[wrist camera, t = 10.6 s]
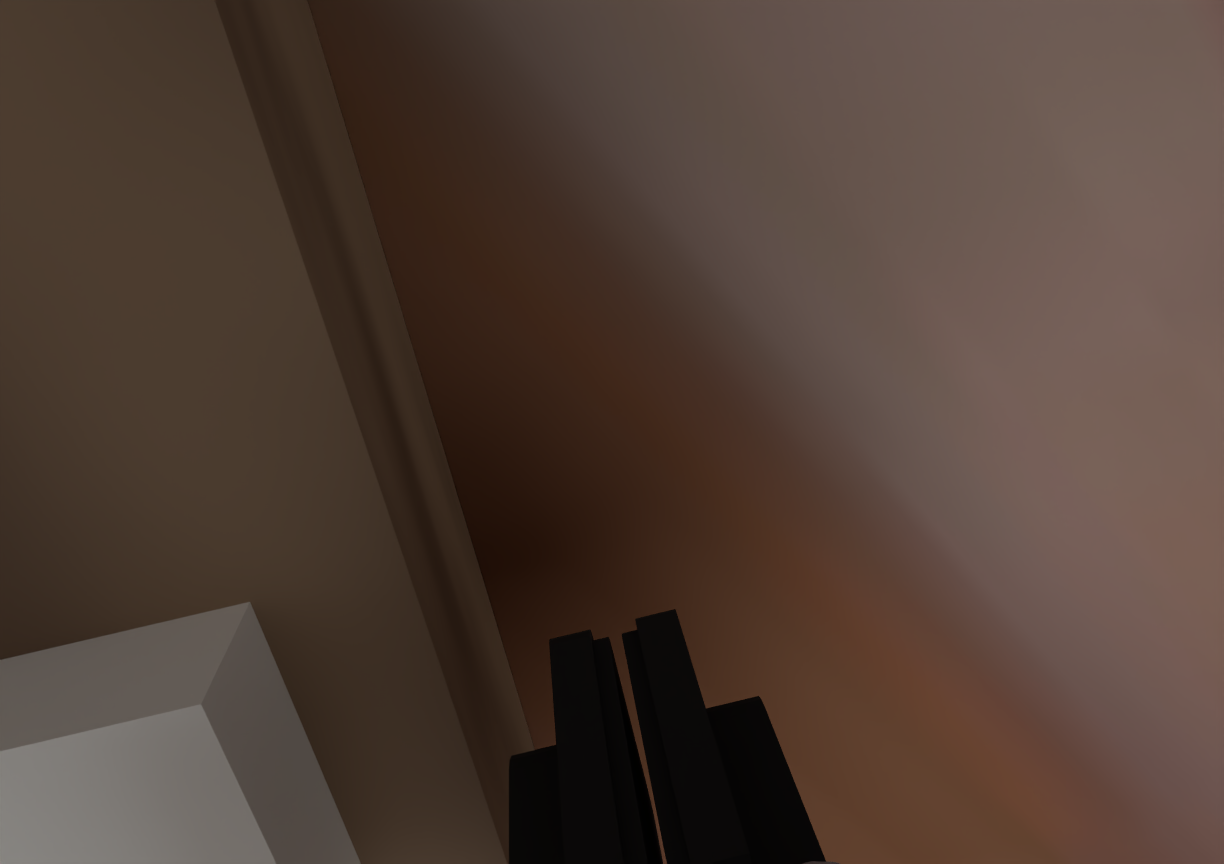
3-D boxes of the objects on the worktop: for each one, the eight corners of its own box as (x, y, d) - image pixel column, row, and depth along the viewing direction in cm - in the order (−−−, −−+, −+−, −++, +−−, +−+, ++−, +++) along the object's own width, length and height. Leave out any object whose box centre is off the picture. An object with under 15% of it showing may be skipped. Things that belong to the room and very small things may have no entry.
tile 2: (249, 602, 12) (200, 704, 10) (370, 886, 14) (348, 1016, 12) (-145, 693, 12) (-270, 814, 10) (33, 967, 13) (-43, 1111, 12)
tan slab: (172, -443, 12) (-47, -773, 7) (540, 769, 19) (550, 991, 15) (-622, -275, 11) (-1385, -500, 7) (68, 881, 19) (-71, 1142, 15)
